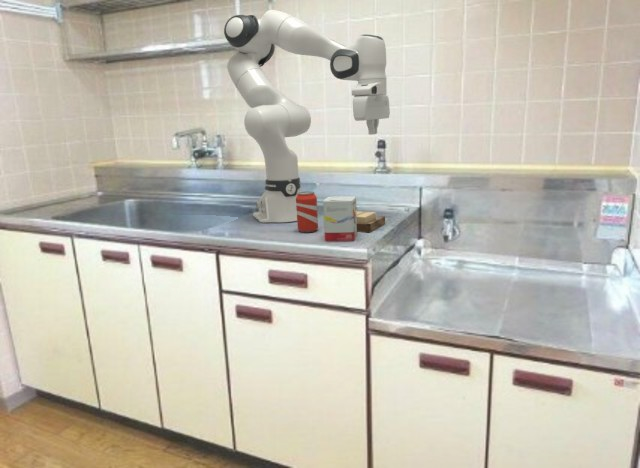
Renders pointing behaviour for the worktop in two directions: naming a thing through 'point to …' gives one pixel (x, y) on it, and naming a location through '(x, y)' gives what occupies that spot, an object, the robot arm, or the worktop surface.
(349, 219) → the ink box
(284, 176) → the robot arm
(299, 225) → the beverage can
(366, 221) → the carton
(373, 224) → the brown u-shaped frame
